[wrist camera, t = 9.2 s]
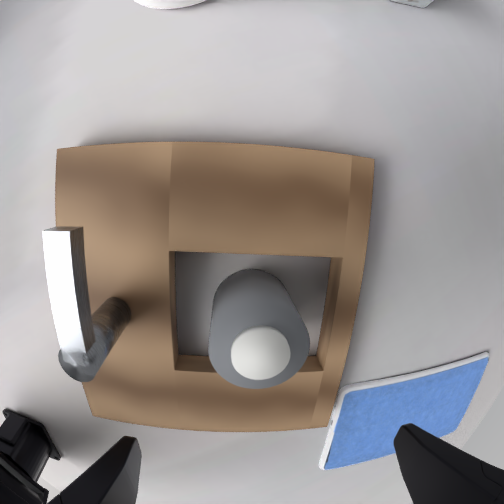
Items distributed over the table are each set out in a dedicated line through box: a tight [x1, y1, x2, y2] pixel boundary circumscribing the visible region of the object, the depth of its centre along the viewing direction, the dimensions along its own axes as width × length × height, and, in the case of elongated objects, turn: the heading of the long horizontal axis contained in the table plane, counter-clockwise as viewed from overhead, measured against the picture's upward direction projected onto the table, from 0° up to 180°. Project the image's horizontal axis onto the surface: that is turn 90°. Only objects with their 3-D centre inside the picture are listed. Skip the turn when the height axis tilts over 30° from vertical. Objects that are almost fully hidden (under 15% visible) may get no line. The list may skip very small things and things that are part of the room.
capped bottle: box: [208, 269, 310, 389], centre depth 16 cm, size 5×5×6 cm
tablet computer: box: [319, 352, 489, 470], centre depth 24 cm, size 19×13×1 cm, turn 89°
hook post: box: [43, 226, 131, 382], centre depth 13 cm, size 7×2×6 cm, turn 177°
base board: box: [55, 142, 374, 432], centre depth 18 cm, size 20×19×2 cm
